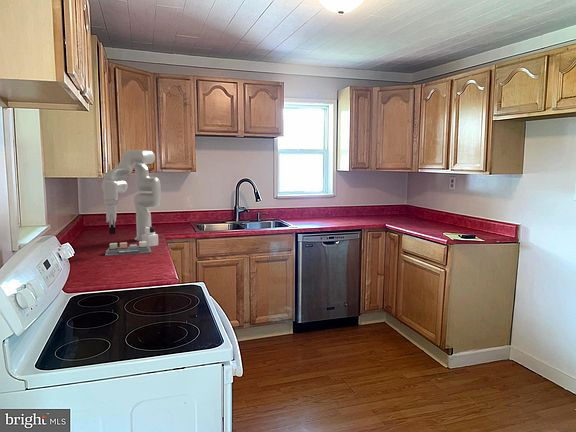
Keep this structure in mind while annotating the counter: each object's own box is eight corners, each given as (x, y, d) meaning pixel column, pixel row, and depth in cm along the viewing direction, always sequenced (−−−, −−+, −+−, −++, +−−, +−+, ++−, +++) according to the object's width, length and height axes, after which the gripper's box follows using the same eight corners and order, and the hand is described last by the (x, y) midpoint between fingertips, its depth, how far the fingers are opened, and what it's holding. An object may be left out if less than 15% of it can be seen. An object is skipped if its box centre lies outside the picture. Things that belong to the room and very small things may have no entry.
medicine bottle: (152, 243, 270) (151, 225, 268) (158, 245, 266) (157, 226, 264) (142, 245, 265) (141, 227, 263) (148, 247, 260) (147, 228, 258)
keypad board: (106, 251, 248) (106, 246, 248) (150, 248, 257) (150, 244, 257) (105, 256, 235) (104, 251, 235) (151, 252, 244) (151, 248, 244)
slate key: (129, 248, 248) (129, 244, 248) (137, 248, 250) (136, 244, 249) (129, 250, 244) (129, 246, 244) (137, 249, 246) (136, 245, 246)
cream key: (139, 245, 250) (139, 241, 250) (146, 245, 251) (146, 241, 251) (139, 246, 246) (139, 242, 246) (146, 246, 248) (146, 242, 247)
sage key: (110, 247, 244) (109, 243, 244) (117, 247, 246) (117, 242, 245) (109, 248, 241) (109, 244, 240) (117, 248, 242) (117, 244, 242)
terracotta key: (119, 246, 246) (119, 242, 246) (127, 246, 248) (127, 242, 247) (119, 248, 242) (119, 243, 242) (127, 247, 244) (127, 243, 244)
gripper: (104, 201, 245) (106, 232, 247) (103, 203, 231) (104, 236, 233) (118, 201, 248) (119, 231, 250) (117, 203, 234) (119, 235, 236)
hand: (112, 233), depth 242 cm, fingers closed
